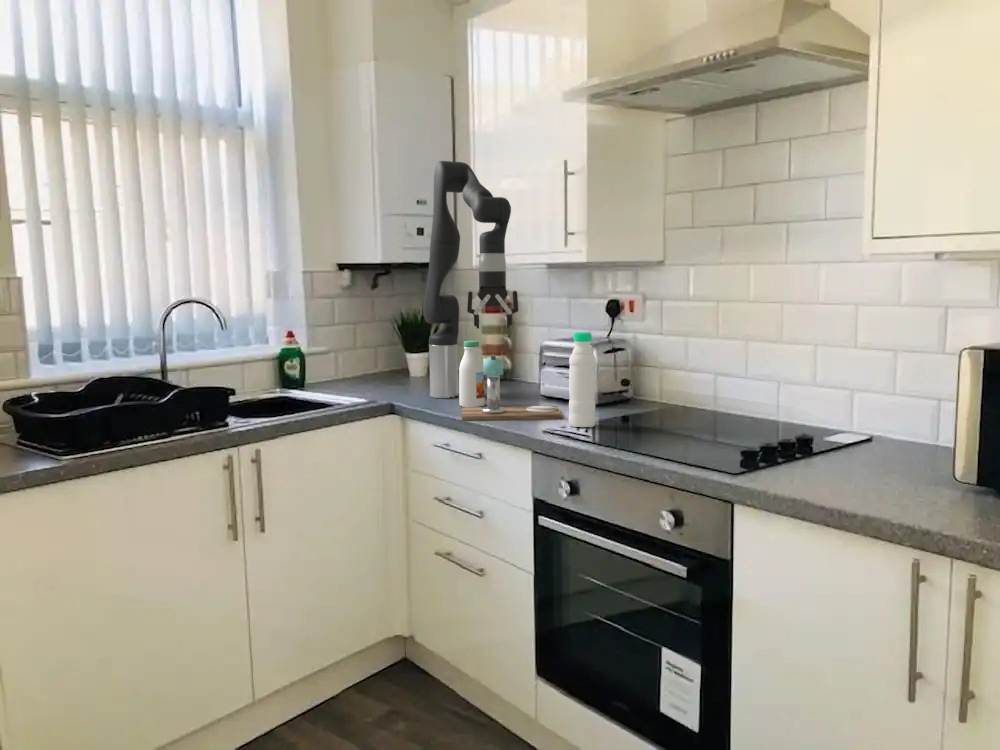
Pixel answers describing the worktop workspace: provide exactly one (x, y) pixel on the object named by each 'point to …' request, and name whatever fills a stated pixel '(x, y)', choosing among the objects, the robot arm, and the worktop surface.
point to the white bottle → (582, 382)
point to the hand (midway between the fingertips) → (492, 328)
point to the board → (513, 413)
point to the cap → (493, 366)
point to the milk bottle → (471, 377)
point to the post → (493, 396)
